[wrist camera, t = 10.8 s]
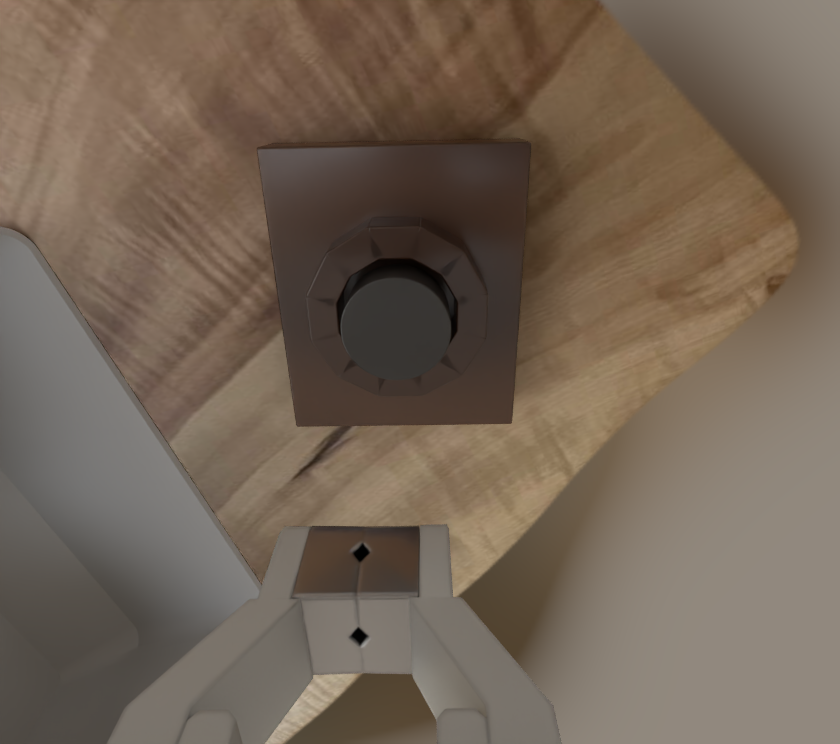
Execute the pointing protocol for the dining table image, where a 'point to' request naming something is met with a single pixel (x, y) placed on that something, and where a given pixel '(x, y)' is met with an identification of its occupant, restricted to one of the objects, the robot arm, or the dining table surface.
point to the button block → (399, 244)
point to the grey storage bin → (90, 525)
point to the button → (396, 322)
